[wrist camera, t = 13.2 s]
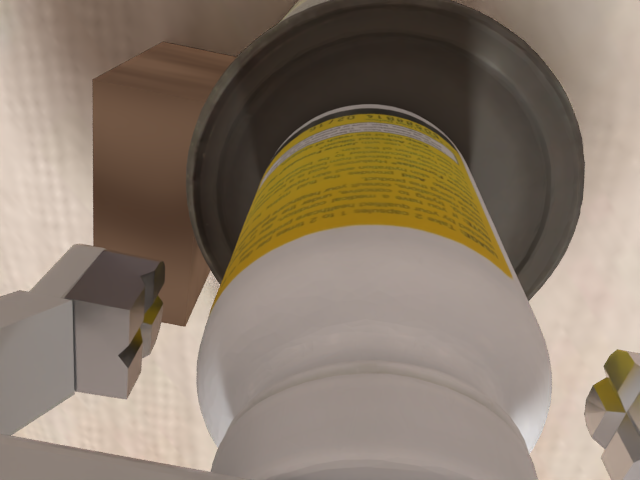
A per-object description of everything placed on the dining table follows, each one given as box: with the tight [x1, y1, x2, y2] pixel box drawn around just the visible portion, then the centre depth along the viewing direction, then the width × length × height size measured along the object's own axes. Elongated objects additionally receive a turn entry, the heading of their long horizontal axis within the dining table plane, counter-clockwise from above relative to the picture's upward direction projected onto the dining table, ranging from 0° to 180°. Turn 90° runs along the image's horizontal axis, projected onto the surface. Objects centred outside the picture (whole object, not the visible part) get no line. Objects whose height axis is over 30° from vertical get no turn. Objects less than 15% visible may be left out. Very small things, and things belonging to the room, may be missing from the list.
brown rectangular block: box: [93, 42, 236, 326], centre depth 26 cm, size 10×4×8 cm, turn 169°
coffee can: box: [186, 0, 585, 301], centre depth 21 cm, size 10×10×14 cm
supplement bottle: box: [197, 104, 552, 480], centre depth 10 cm, size 5×5×10 cm
